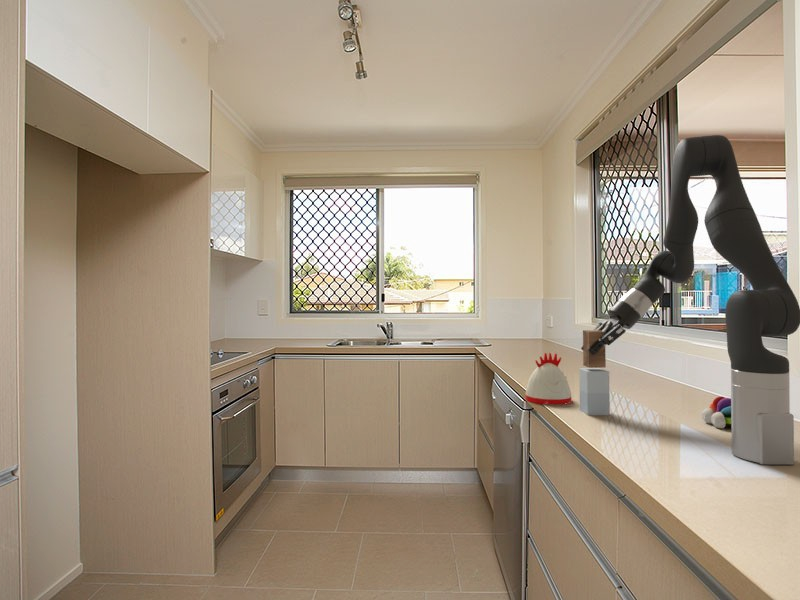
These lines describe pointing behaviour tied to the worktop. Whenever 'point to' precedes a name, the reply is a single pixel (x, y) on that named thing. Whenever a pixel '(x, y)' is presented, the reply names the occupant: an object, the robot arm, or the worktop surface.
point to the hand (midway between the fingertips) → (587, 351)
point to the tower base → (595, 403)
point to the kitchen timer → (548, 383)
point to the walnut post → (588, 358)
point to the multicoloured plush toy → (718, 412)
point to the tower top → (594, 380)
